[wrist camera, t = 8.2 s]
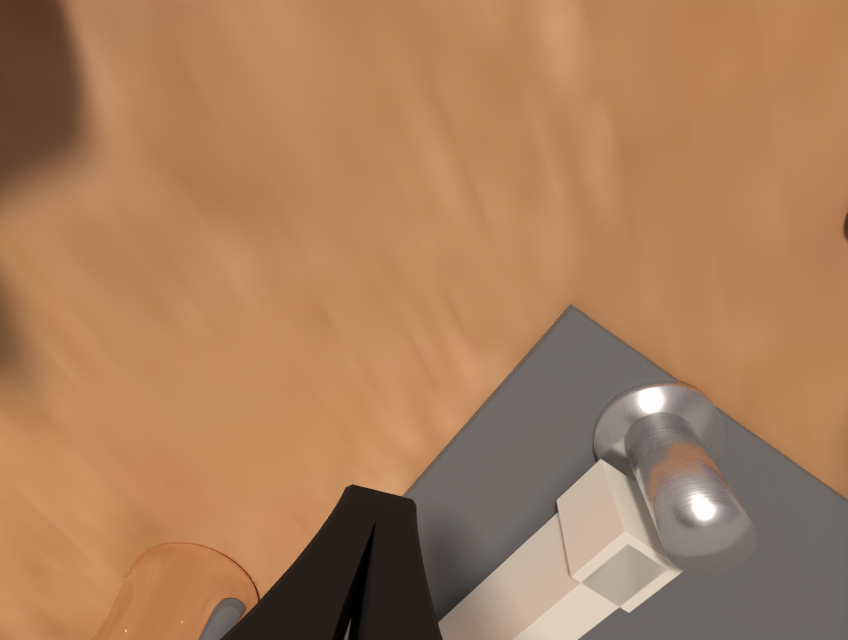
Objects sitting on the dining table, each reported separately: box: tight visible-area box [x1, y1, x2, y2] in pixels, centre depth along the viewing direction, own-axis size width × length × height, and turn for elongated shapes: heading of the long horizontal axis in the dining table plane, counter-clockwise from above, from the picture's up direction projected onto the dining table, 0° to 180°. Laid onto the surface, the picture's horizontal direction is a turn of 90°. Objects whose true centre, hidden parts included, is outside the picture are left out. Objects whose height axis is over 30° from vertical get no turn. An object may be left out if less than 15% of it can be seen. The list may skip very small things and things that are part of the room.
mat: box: [344, 305, 848, 640], centre depth 24 cm, size 19×21×1 cm
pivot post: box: [593, 380, 757, 575], centre depth 18 cm, size 4×4×6 cm
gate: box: [438, 459, 683, 640], centre depth 20 cm, size 13×2×4 cm, turn 145°
